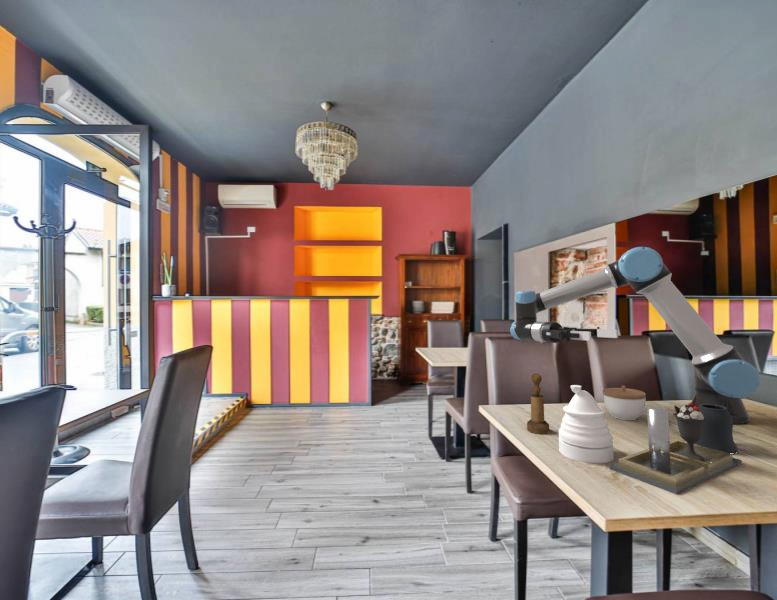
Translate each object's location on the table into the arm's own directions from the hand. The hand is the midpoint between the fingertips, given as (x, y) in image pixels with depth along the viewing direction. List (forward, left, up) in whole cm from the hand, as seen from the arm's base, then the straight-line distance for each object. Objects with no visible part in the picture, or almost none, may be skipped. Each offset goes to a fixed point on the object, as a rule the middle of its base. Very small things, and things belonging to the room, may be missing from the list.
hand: (604, 334), depth 116 cm
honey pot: (+22, +8, -30) cm, 38 cm away
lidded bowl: (-18, -5, -30) cm, 36 cm away
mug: (-12, +23, -30) cm, 40 cm away
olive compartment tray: (+11, +24, -30) cm, 40 cm away
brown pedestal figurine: (+18, -11, -30) cm, 37 cm away
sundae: (+4, +24, -29) cm, 38 cm away
